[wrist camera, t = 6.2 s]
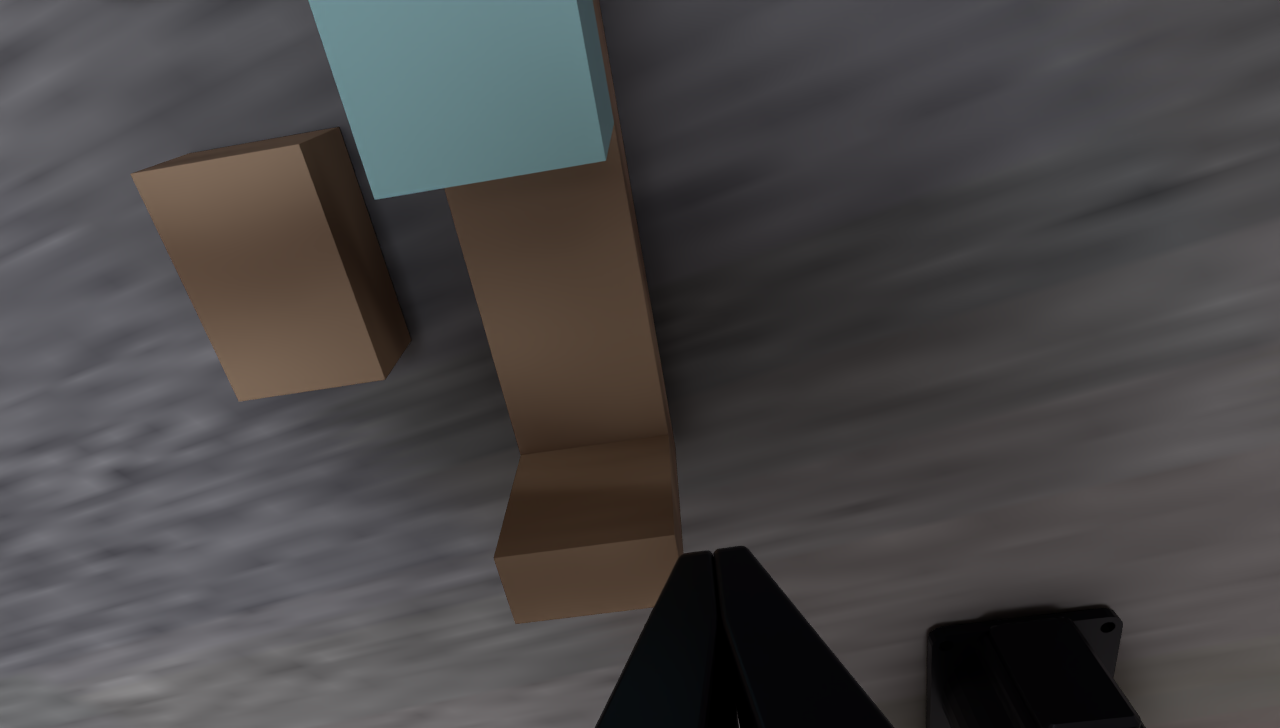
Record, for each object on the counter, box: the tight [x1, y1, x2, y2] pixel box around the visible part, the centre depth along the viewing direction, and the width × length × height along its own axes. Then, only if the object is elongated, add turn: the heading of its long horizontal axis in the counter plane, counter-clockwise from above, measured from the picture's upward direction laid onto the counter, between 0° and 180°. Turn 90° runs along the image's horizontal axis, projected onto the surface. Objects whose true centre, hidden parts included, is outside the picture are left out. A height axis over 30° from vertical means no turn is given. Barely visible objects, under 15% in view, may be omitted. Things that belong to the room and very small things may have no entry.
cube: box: [308, 0, 614, 200], centre depth 13 cm, size 4×4×4 cm
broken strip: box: [131, 127, 411, 401], centre depth 16 cm, size 16×4×2 cm, turn 9°
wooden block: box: [444, 0, 683, 624], centre depth 16 cm, size 16×4×6 cm, turn 9°
